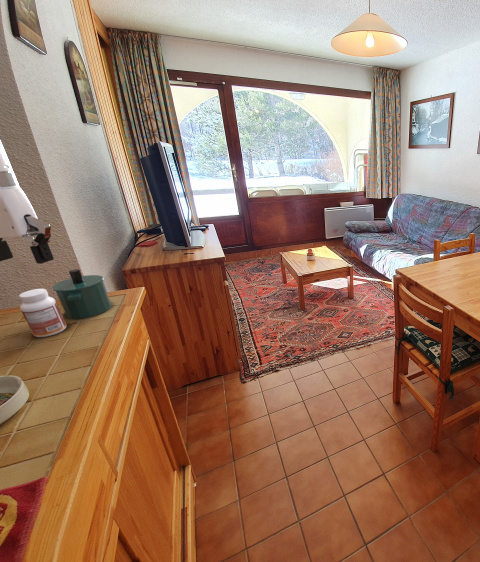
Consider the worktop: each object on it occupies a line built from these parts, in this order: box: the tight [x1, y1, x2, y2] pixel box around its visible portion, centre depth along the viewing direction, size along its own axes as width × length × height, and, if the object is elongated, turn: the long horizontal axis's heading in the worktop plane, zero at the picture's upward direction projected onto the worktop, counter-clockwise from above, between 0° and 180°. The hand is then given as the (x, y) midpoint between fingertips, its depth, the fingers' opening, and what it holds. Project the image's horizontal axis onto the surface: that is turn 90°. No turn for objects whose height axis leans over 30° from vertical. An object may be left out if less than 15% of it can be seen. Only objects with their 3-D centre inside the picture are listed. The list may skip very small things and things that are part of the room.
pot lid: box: [52, 268, 105, 292], centre depth 85 cm, size 11×11×5 cm
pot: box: [55, 281, 112, 320], centre depth 88 cm, size 10×15×8 cm, turn 30°
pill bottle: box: [18, 288, 67, 338], centre depth 77 cm, size 6×6×11 cm
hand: (25, 260), depth 69 cm, fingers open, 9 cm apart
